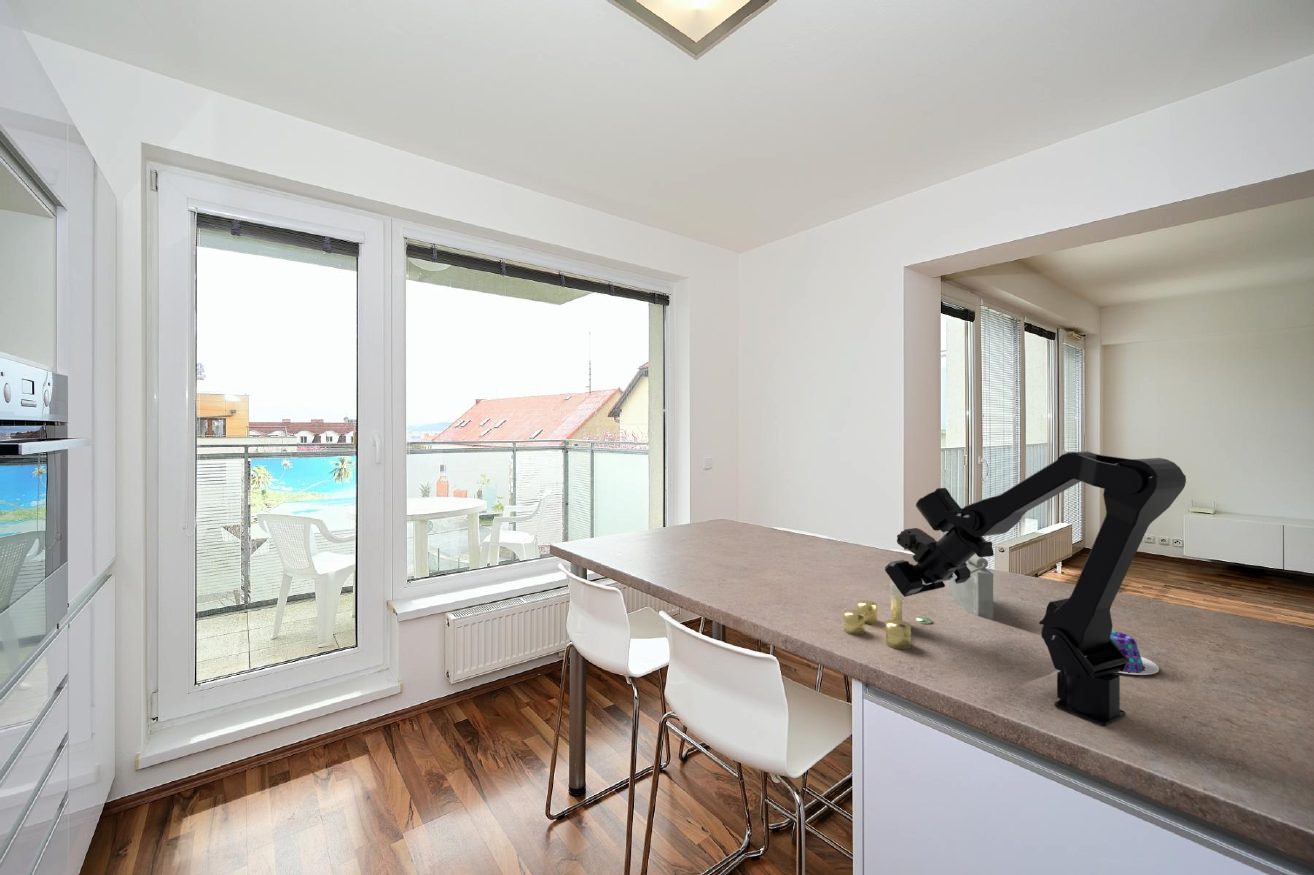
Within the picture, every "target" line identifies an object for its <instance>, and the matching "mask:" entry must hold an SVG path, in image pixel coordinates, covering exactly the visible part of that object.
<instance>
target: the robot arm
mask: <svg viewBox="0 0 1314 875" xmlns="http://www.w3.org/2000/svg"><path fill="white" fill-rule="evenodd" d="M1081 482H1083V483H1085V484H1087V485H1090V486H1093V487H1096V488H1100V489H1104V490H1103V501H1104V507H1105V517H1104V519H1103V521H1102V524H1101V526H1100V528H1099V530H1098V532H1097V535H1096V537H1095V540H1094V542H1093V544H1092V546H1091V549H1090V551H1089V554H1088V555H1087V558H1086V561H1085V562H1084V565H1083V567H1082V569H1081V571H1080V574H1079V577H1078V578H1077V581H1076V583H1075V585H1074V587H1073V590H1072V593H1071V594H1070V596H1069V598H1063V599H1057V600H1052V601H1049V602H1048V604H1047V606H1046V610H1045V614H1044V616H1043V618H1042V619H1041V620H1039V622H1038V623H1039V625H1042V627H1041V632H1040V633H1041V638H1042V639H1043V641H1044V644H1045V645H1046V647H1047V650H1048V653H1049V655H1050V658H1051V662H1052V664H1053V667H1054V669H1055V670H1057V671H1058V672H1057V673H1056V684H1057V685H1056V689H1057V690H1056V691H1057V692H1056V694H1057V695H1056V697H1057V699H1058V700H1056V701H1054V706H1055V707H1056V708H1059V709H1061V710H1064V711H1066V712H1068V713H1071V714H1073V715H1074V716H1075V715H1076V716H1078V717H1080V718H1083V719H1085V720H1087V721H1090V722H1093V723H1095V724H1097V725H1100V726H1107V725H1109V724H1112V723H1113V722H1115V721H1117V720H1120V719H1121V718H1123V717H1125V716H1126V714H1127V712H1126V711H1125V710H1124V709H1123V710H1122V709H1120V707H1121V704H1120V702H1121V701H1120V698H1121V697H1120V693H1121V690H1120V689H1121V686H1120V684H1121V683H1120V681H1121V680H1120V678H1121V677H1120V675H1119V674H1115V673H1118V672H1126V671H1125V669H1126V667H1127V665H1128V663H1129V659H1128V658H1127V657H1126V656H1125V654H1124V653H1123V652H1122V651H1121V650H1120V649H1119V648H1118V646H1117V645H1116V644H1115V643H1114V642H1113V641H1112V639H1111V638H1110V636H1111V631H1113V621H1112V620H1113V619H1112V615H1111V608H1112V605H1113V603H1114V601H1115V598H1116V597H1117V595H1118V592H1119V590H1120V588H1121V586H1122V584H1123V581H1124V579H1125V578H1126V576H1127V573H1128V571H1129V568H1130V567H1131V564H1132V562H1133V560H1134V558H1135V556H1136V553H1137V552H1138V549H1139V548H1140V545H1141V543H1142V541H1143V538H1144V537H1145V535H1146V532H1147V530H1148V528H1149V526H1150V525H1151V524H1152V523H1154V521H1155V520H1156V519H1158V518H1159V517H1160V516H1161V515H1162V514H1163V513H1165V512H1166V511H1167V510H1168V509H1169V508H1170V507H1171V506H1172V504H1174V502H1175V501H1176V499H1177V498H1178V496H1180V494H1181V493H1182V492H1183V491H1184V488H1185V486H1186V483H1187V478H1186V475H1185V474H1184V472H1183V470H1182V469H1181V467H1180V466H1178V465H1177V464H1176V463H1175V462H1173V461H1171V460H1169V459H1167V458H1162V457H1154V458H1153V457H1152V458H1151V457H1149V458H1135V459H1134V458H1125V457H1117V456H1109V455H1103V454H1100V453H1099V454H1097V453H1094V452H1091V451H1072V452H1071V451H1068V452H1065V453H1063V454H1061V455H1060V456H1059V457H1058V458H1057V459H1056V460H1055V461H1052V462H1051V463H1050V464H1048V465H1046V466H1044V467H1043V468H1041V469H1039V470H1038V471H1036V472H1035V473H1034V474H1031V475H1030V476H1028V477H1027V478H1025V479H1024V480H1021V481H1020V482H1018V483H1017V484H1016V485H1014V486H1012V487H1011V488H1009V489H1007V490H1006V491H1004V492H1002V493H1000V494H997V495H994V496H991V497H987V498H983V499H980V500H977V501H975V502H971V503H970V504H967V505H965V506H964V507H962V508H961V506H960V505H959V504H958V503H957V502H956V500H955V499H954V498H953V496H952V495H951V493H950V491H949V490H948V489H947V488H946V487H938V488H936V489H935V490H934V491H932V492H930V493H928V494H926V495H924V496H923V497H920V498H919V499H918V500H917V502H916V504H915V507H916V509H917V510H918V511H919V513H920V514H921V515H922V517H923V518H924V519H925V521H926V522H927V524H928V525H929V526H930V527H931V528H932V530H933V531H936V532H938V531H940V532H942V533H945V534H943V536H942V537H941V538H940V539H939V540H938V541H937V540H936V539H935V538H934V537H933V536H931V535H929V534H928V533H927V532H925V531H924V530H922V529H921V528H918V527H913V528H905V529H904V530H901V531H900V533H898V534H897V535H896V538H897V539H896V543H897V544H898V545H899V546H900V547H902V548H903V549H904V550H908V551H909V552H911V553H912V554H914V555H912V559H913V560H914V561H915V562H916V564H913V563H910V562H909V561H908V560H904V559H900V560H895V561H890V562H889V563H888V564H886V566H885V567H884V571H885V573H886V574H887V576H889V578H890V581H891V580H892V581H893V582H894V584H895V585H896V587H897V588H898V590H899V591H900V592H901V593H902V597H904V598H906V597H909V596H910V597H911V596H913V595H917V594H918V595H919V594H922V593H926V592H931V591H934V590H938V589H939V590H940V589H941V588H942V589H943V588H945V587H946V585H945V582H947V581H949V580H950V579H951V578H953V576H952V575H953V572H954V574H955V575H956V576H957V578H956V579H955V580H954V582H955V583H956V584H958V583H963V582H965V581H967V580H968V579H969V578H970V570H969V569H968V567H967V564H966V563H965V562H966V561H967V560H969V559H970V558H971V557H972V556H973V555H974V554H975V553H976V554H977V556H978V557H983V558H989V557H994V555H995V552H994V549H993V541H987V540H986V539H985V537H987V536H989V537H990V536H997V535H1003V534H1006V533H1008V532H1009V531H1011V529H1013V528H1014V527H1015V526H1016V525H1017V524H1018V523H1020V521H1021V519H1022V517H1023V516H1024V515H1025V514H1026V513H1027V512H1028V511H1030V510H1032V509H1033V508H1036V507H1038V506H1039V505H1041V504H1043V503H1045V502H1046V501H1048V500H1050V499H1052V498H1053V497H1056V496H1058V495H1059V494H1061V493H1063V492H1064V491H1066V490H1068V489H1070V488H1071V487H1074V486H1075V485H1077V484H1079V483H1081Z"/></svg>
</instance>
